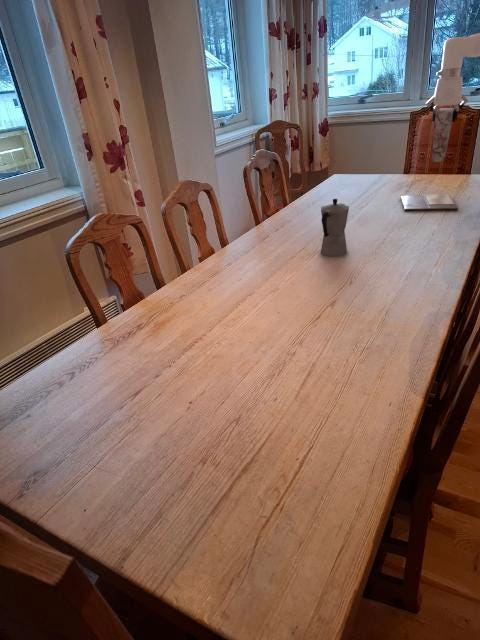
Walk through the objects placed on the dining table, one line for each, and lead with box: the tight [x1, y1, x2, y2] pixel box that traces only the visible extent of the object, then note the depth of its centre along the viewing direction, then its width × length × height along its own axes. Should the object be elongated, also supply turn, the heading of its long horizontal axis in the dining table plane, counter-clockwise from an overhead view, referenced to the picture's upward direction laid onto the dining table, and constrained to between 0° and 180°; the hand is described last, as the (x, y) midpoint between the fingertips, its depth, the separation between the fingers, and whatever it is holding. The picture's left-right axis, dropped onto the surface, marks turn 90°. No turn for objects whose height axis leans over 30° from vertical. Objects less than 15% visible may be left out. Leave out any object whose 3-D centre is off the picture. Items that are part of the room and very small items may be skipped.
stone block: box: [431, 107, 455, 163], centre depth 184 cm, size 13×7×20 cm, turn 158°
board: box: [400, 193, 459, 212], centre depth 182 cm, size 20×20×1 cm
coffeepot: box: [320, 198, 350, 257], centre depth 141 cm, size 15×9×18 cm, turn 145°
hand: (443, 121), depth 181 cm, fingers closed on stone block, 6 cm apart
